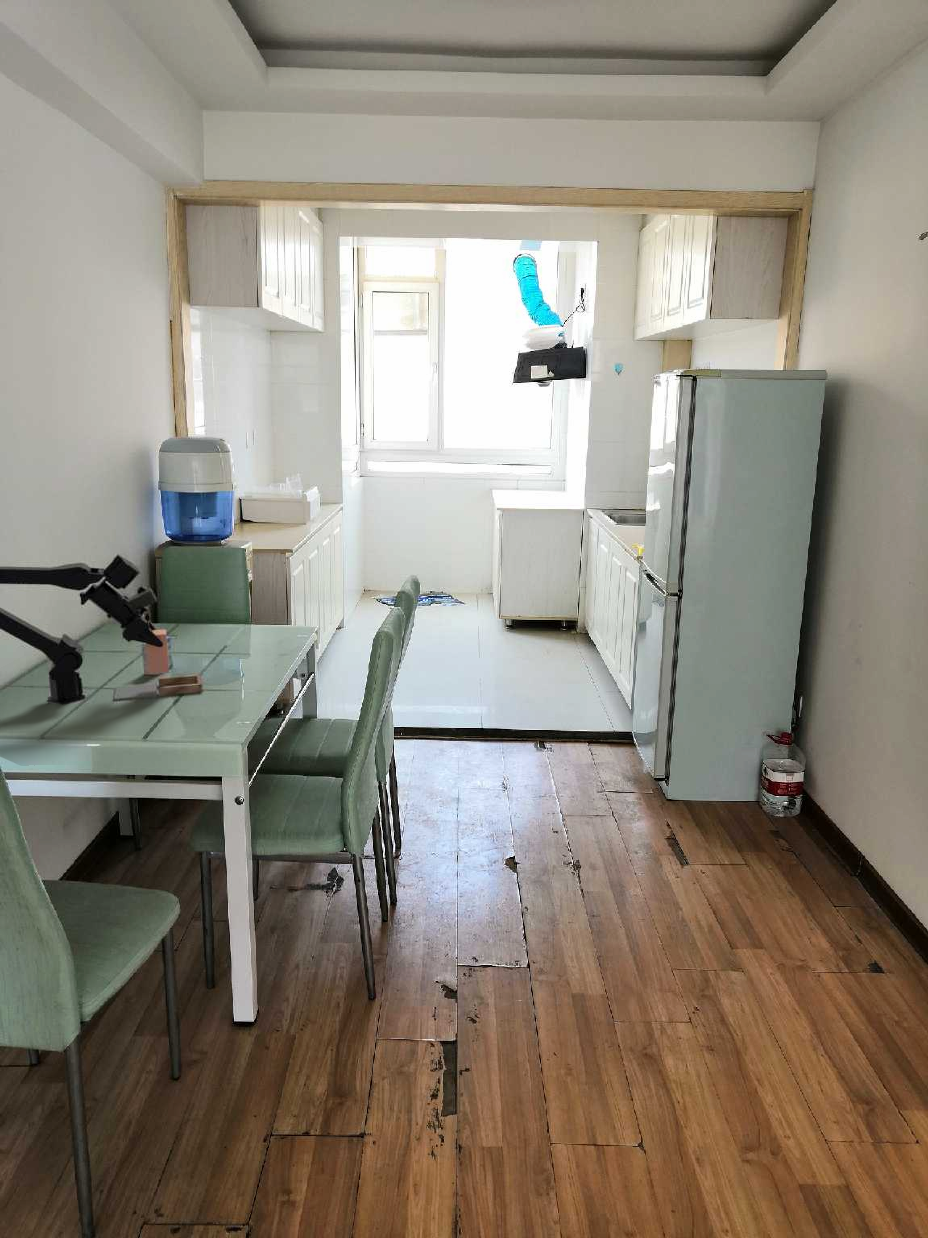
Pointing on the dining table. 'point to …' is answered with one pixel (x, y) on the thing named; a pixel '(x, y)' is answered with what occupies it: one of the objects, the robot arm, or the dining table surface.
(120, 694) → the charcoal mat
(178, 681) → the frame
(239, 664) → the dining table surface
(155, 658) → the salmon orange rectangular block
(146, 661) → the medicine box
